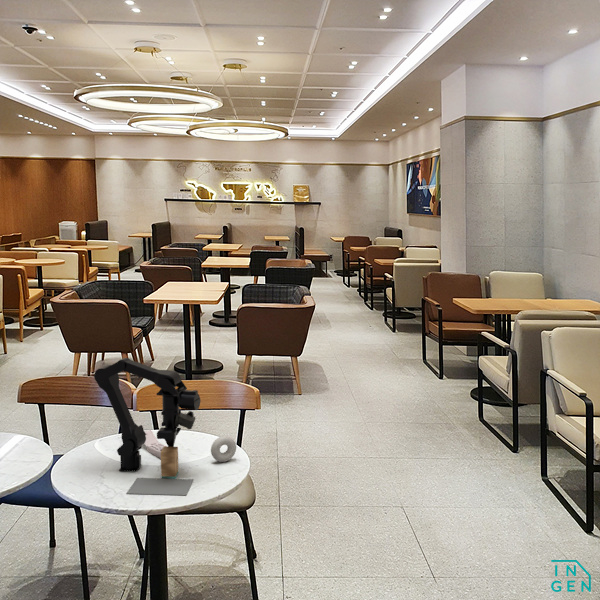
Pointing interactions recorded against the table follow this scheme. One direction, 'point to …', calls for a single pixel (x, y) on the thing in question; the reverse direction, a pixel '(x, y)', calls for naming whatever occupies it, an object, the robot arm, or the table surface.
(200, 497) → the table surface
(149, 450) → the mobile phone
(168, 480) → the charcoal mat
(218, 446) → the donut
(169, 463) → the oak block
